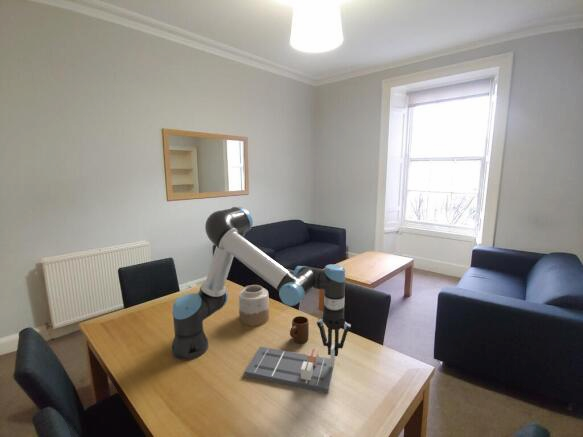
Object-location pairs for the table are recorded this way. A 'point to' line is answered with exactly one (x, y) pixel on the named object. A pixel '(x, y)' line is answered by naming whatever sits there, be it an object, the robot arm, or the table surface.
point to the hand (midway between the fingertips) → (332, 362)
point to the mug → (300, 329)
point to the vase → (253, 305)
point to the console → (289, 369)
